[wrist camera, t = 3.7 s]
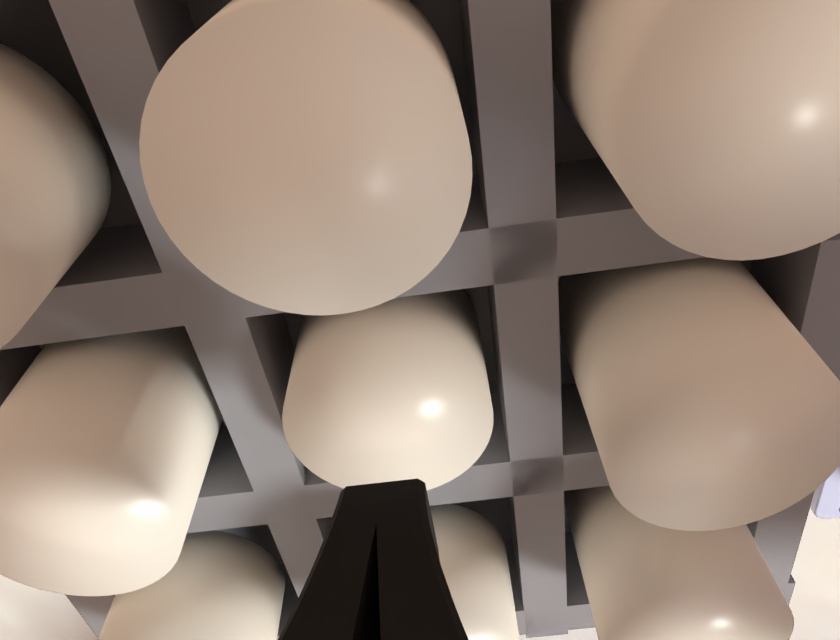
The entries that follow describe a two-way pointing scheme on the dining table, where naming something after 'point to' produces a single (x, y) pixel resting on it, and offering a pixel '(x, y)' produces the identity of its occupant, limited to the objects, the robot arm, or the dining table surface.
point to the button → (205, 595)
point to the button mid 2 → (476, 572)
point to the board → (481, 321)
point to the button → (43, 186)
